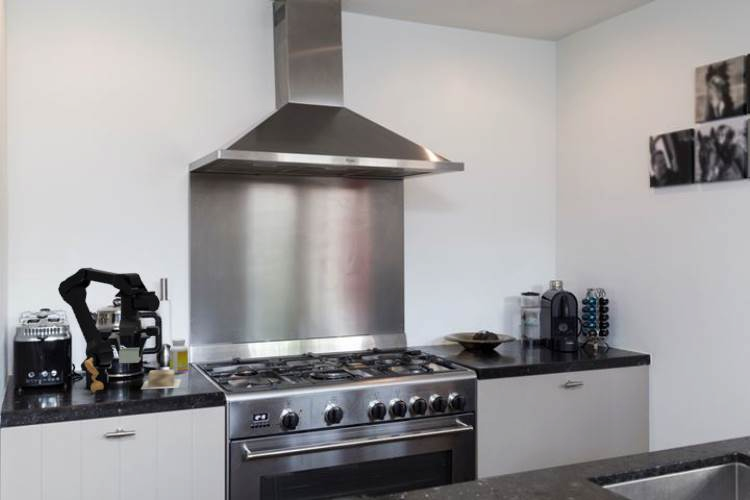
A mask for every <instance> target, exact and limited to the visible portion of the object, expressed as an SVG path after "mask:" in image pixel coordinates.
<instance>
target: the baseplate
mask: <svg viewBox="0 0 750 500" xmlns="http://www.w3.org/2000/svg"><path fill="white" fill-rule="evenodd" d="M181 382H182V379H181V378H177V379H176V378H175V382H174V384H173V386H160V387H148V380H145V381H144V383H143V385H142V386H141V388H140V390H152V389H153V390H157V389H178V388H179V387H180V384H181Z"/></svg>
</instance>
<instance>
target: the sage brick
mask: <svg viewBox="0 0 750 500" xmlns="http://www.w3.org/2000/svg"><path fill="white" fill-rule="evenodd" d="M139 350H140V347H121V350H120V351H119V356H118V363H119V364H133V363H135V364H136V363H137V364H138V363H139V362H140V361H141V359H142V356H141V357H139Z"/></svg>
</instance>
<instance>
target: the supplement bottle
mask: <svg viewBox="0 0 750 500" xmlns="http://www.w3.org/2000/svg"><path fill="white" fill-rule="evenodd" d="M171 341H172V342H171V343H172V345H171V346H170V348H169V370H175V374H177V373H188V372H189V348H188V346H187V345H186V344H185V343H186V339H185V338H174V339H172V340H171Z"/></svg>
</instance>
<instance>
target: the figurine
mask: <svg viewBox="0 0 750 500" xmlns="http://www.w3.org/2000/svg"><path fill="white" fill-rule="evenodd" d="M92 359H93V358H90V359H89V360H86V361H85V366H86V368H87V370H89V371H90V373H92V374H93V375H92V380H93V381H94V382H93V383H92V385H91V389H90V390H91V392H92V393H96V392H97V391H100V390H103V389H104V387H105V384H103V383H102V382H100V381H97V380H95V378H96V377H97V375H98V371H97V370H96V369H95V368H94V366H93V363H92V361H93V360H92ZM93 369H94V370H95V371H96V372H97V373H96V372H95V371H94V370H93Z"/></svg>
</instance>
